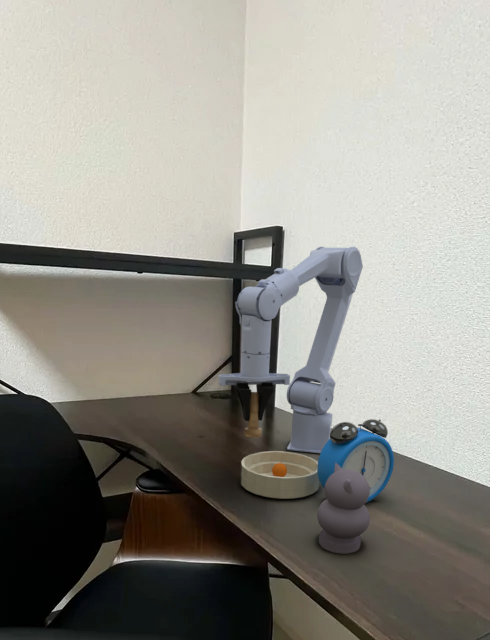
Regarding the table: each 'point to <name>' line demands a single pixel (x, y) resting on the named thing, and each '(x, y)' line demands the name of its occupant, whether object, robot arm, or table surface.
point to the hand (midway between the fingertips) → (252, 419)
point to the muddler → (254, 417)
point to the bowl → (292, 485)
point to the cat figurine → (344, 511)
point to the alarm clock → (359, 454)
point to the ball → (279, 470)
